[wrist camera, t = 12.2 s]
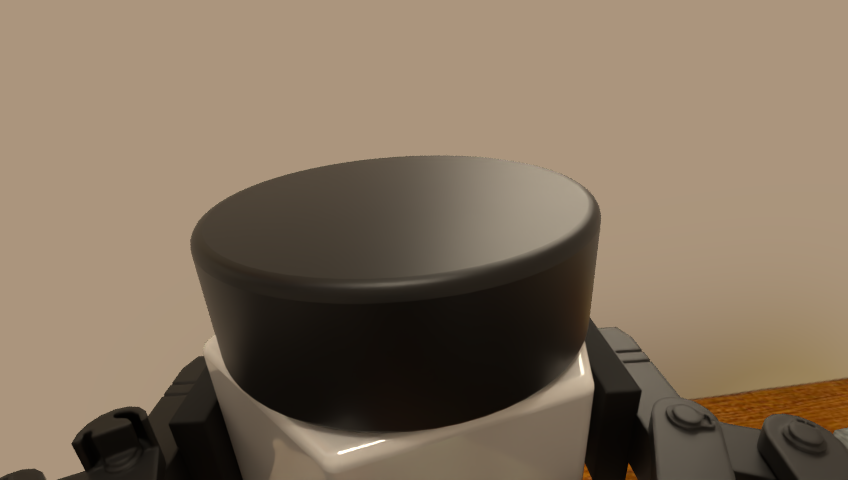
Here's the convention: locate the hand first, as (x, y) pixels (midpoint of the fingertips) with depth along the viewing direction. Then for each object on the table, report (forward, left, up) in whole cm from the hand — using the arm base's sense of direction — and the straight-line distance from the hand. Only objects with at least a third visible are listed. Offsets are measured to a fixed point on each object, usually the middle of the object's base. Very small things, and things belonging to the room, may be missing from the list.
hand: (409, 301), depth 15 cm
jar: (-1, -5, -7) cm, 8 cm away
